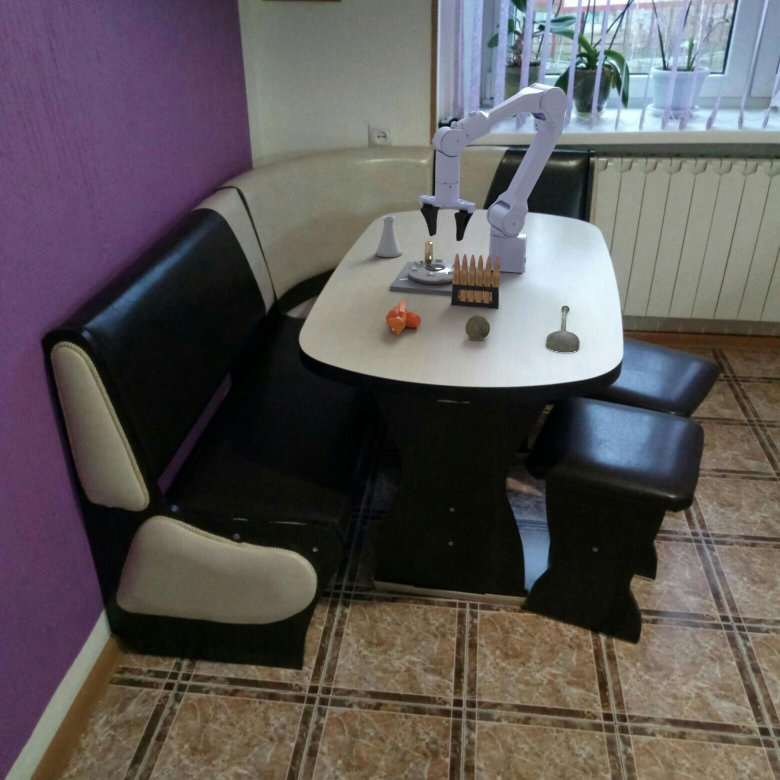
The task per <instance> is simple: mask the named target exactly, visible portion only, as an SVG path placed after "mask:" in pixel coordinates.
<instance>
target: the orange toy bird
mask: <svg viewBox="0 0 780 780" xmlns="http://www.w3.org/2000/svg"><path fill="white" fill-rule="evenodd" d="M406 306H407V304H406V300H403V299H400V301H399V303H398V304H397V305H394V307H393V308H392V309H390V310H389V312H388V313H387V314H386V315H385V319H386V320H385V322H386V325H387V326H388V327H389V328H390V329H391V332H393V333H396V335H397V336H399V335H400V334H401V333H402V331H403V330H404V329H405V327H406V326H407V327H409V328H411V329H417V328H418V327H419V326H420V325H421V322H422V319H421V316H420V315H419V314H418V313H417V312H414V311H408V309H407V307H406Z"/></svg>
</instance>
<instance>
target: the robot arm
mask: <svg viewBox="0 0 780 780" xmlns="http://www.w3.org/2000/svg"><path fill="white" fill-rule="evenodd" d="M569 106H570V105H569V101H568V98H567V95H566V92H565V91H564V90H563V89H562V88H561V87H559V86H551V85H547V84H544V83H541V82H535V83H533V84H531V85H530V86H527V87H524V88H522V89H521V90H520V91H518V92H517V93H515V94H514V95H512V96H511V97H509V98H508V99H506V100H504V101H502V102H500V103H499V104H498V105H496V106H494V107H493V108H491V109H489V110H487V111H486V112H484V111H482V110H474V109H473V110H470V111H469V112H468V115H467V116H466V117H464V118H462V119H460V120H458V121H456V120H455V121H454V120H453V121H452V122H451V123H450V124H451V125H450V127H449V126H442V127H440V128H438V129H437V130H436V132H434V135H433V138H432V139H431V144H432V147H433V148H434V150H435V171H434V172H435V174H434V175H435V176H434V177H435V179H434V181H435V183H434V184H435V185H434V186H435V187H434V195H424V194H423V195H421V196H419V197H418V199H419V200H418V201H419V203H418V204H419V206H422V207H421V208H420V210H419V211H420V213H421V214H422V216H423V218H424V220H425V223H426V227H427V230H428V235H429V237H433V236H435V235H437V230H438V229H437V228H438V226H437V225H438V214H439V208H443V209H449V210H454V211H458V212H454V215H453V216H454V220H455V228H456V231H455V238H456V239H455V240H456V242H461V241H462V240H464V236H465V233H466V230H467V227H468V224H469V222H470V221H471V218H472V217H473V215H474V213H475V212H476V209H477V208H476V206H477V205H476V204H477V203H476V202H471V201H467V200H464V199H461V198H460V182H461V181H460V179H461V175H460V174H461V154H462V152H464V150H465V147H468V146H469V145H471V144H473V143H474V142H476V141H477V142H478V140H480V139H482V138H484V137H486V136H488V135H490V133H491V130H492V128H493V126H495V125H498V124H500V123H502V122H504V121H506V120H508V119H510V118H513V117H514V116H517V115H518V114H520V113H524V112H525V113H530V114H531V116H532V117H533V118H534V122H535V124H536V127H537V131H536V132H535V133H536V134H535V135H534V137H533V139H532V142H531V143H530V145H529V147H528V149H527V150H526V153H525V154H524V157H523V159H522V161H521V162H520V164H519V166H518V168H517V170H516V173H515V174H514V176H513V178H512V179H511V182H510V184H509V186H508V188H507V190H505V191H504V192H503V193H501V194H500V195H498V197H497V199H496V200H495V201H494V203H492V204H491V205H490V206H489V207H488V209H487V212H486V220H487V222H488V224H489V225H490V228H489V242H488V243H489V245H488V256H489V255H490V258H491V272H492V271H494V263H495V259H496V257H497V256H498V257H499V263H500V267H499V269H500V272H505V273H507V272H508V273H517V274H519V273H520V274H522V273H524V269H525V267H526V266H525V265H526V264H527V263H526V262H527V243H528V235H527V234H525V233H521V232H522V230H523V229H524V226H525V221H526V216H527V214H528V212H529V208H528V198H529V197H530V195H531V193H532V191H533V190H534V188H535V185H537V181H538V180H539V178H540V176H541V174H542V172H543V170H544V168H545V166H546V164H547V163H548V160H549V159H550V156H551V155H552V153H553V151H554V149H555V147H556V145H557V143H558V142H559V140H560V139H561V136H562V134H563V131H564V125H565V116H566V112H567V110H568V108H569ZM484 270H486V266H484Z"/></svg>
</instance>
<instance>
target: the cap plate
mask: <svg viewBox="0 0 780 780" xmlns="http://www.w3.org/2000/svg"><path fill="white" fill-rule="evenodd" d="M412 263H414V261H407V262H406V263H405V265H404V266H403V268H402V269H401V270H400V272H399V274H398V275H397V276H396V278H395V279H394V280H393V282H392V283H391V285H390V287H389V288H390V291H395V292H396V291H397V292H406V293H407V292H408V293H409V292H410V293H417V294H418V293H419V294H420V293H421V294H430V295H431V294H433V295H446V296H452V286H453V282H452V283H448V284H437V285H434V284H423V283H419V282H416V281H414V280H412V279H410V278H409V266H410V265H411V264H412ZM460 266H461V267H462V264H460ZM467 267H468V276H469V269H470V265H467ZM477 268H478V266H475V271H476V272H477ZM460 280H461V278H460ZM467 292H468V290H467Z"/></svg>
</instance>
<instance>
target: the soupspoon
mask: <svg viewBox="0 0 780 780" xmlns="http://www.w3.org/2000/svg"><path fill="white" fill-rule="evenodd" d="M561 311H562V315H561V327H560V330H557V331H552V332H551V333H549V334H548V335H547V337H546V339H545V343H546V344H545V345H546V346H547V348H548V349H549V348H550V349H551V350H553V351H552V352H554V351H558V352H557V353H559V352H573V353H575V352H574V351H576V350H577V351H578V349H580V348H579V347H580V344H581V342H580V339H579V336H578V335H577V334H575V333H573V332H572V331H569V330H567V320H566V319H567V313H568V312H570V307H569V306H568V305H563V306H561ZM550 349H549V350H550ZM551 350H550V351H551ZM577 351H576V352H577Z"/></svg>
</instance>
